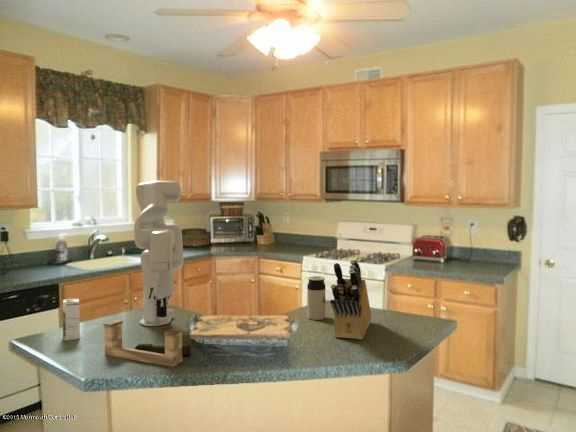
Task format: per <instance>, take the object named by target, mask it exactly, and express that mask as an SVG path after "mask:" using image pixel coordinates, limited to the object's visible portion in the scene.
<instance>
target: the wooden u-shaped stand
mask: <svg viewBox="0 0 576 432" xmlns="http://www.w3.org/2000/svg"><path fill="white" fill-rule="evenodd" d="M123 321H124V320H122V319H113V320H110V321H107V322H104V323H103V327H104V330H103V331H104V355H105V356H109V357H115V358H119V359H121V358H122V359H127V360H133V361H138V362H142V363H148V364H154V365H160V366H165V367H170V366H171V368H173V366H174V367H176V366H177V365H178V363H179V364H180V362H181V363H183V356H182V345H183V331H184V329H183V328H178V327H173V328H170V329H168V330H166V331H164V332H163V335H164V346H165V354H160V353H154V352H148V351H142V350H136V349H135V348H128V347H123Z"/></svg>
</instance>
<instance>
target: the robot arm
mask: <svg viewBox="0 0 576 432" xmlns="http://www.w3.org/2000/svg"><path fill="white" fill-rule="evenodd" d="M135 195H136V196H135V197H136V201H137V204H138V207H139V208H140V210H141V212H140V213H139V214H138V215H137V217H136V219H135V221H134V224H133V232H134V233H133V235H134V237H133V239H134V244H135V246H136V248H137V249H138V248H139V249H141V250H143V249H144V250H143V251H142V252H141V254H140V265H141V270H142V288H143V292H142V293H143V295H142V296H143V297H142V298H143V318H141V319H140V320H139V324H140V325H141V326H144V327H160V326H164V325H168V324H169V323H170V322H171V321H172V319H171V317H169V315H170V314H173V312H174V310H173V309H172V308H169V309H168V305H169V300H170V299H171V298H172V297H173V294H174V293H175V279H174V278H175V277H174V271H175V270H177V271H178V270H180V269H182V268H183V265H184V247H183V246H184V245H183V233H182V231H183V230H182V228H181V226H180V225H179V224H178V223H173V222H172V223H170V222H169V223H167V222H166V223H165V222H164V218H165V217H166V216H167V215H168V213H169V207H168V203H175V202H179V201H180V200H181V197H182V188H181V185H180V183H179V182H178V181H176V180H151V181H145V182H141V183H138V184H137V185H136V187H135Z"/></svg>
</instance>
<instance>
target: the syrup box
mask: <svg viewBox="0 0 576 432" xmlns="http://www.w3.org/2000/svg"><path fill="white" fill-rule="evenodd" d="M80 315H81V314H80V298H66V299H63V300H62V341H63V342H66V341H73V340H79V339H80V338H81V337H80V336H81V335H80V334H81V330H80V328H81V326H80Z"/></svg>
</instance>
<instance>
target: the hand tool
mask: <svg viewBox="0 0 576 432" xmlns="http://www.w3.org/2000/svg"><path fill="white" fill-rule="evenodd" d="M134 349H136V350H142V351H148V352H154V353H160V354H165V345H153V343H138V344H137V345H136V346H135V348H134ZM191 352H192V344H191V343H188V344H182V357H183V356H187V357H191Z"/></svg>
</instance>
